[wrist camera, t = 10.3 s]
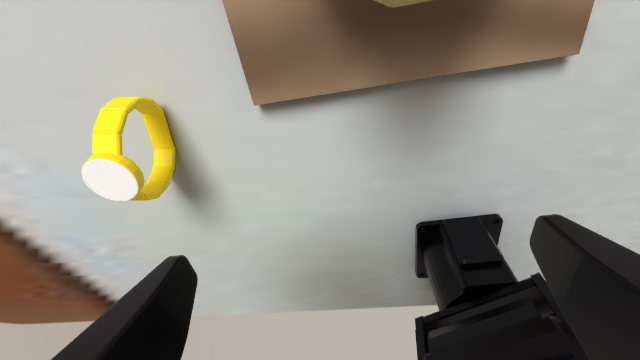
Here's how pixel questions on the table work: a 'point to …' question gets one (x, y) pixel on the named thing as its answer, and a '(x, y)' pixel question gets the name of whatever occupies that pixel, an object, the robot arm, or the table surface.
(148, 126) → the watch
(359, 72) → the socket base
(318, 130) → the table surface
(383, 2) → the socket collar
